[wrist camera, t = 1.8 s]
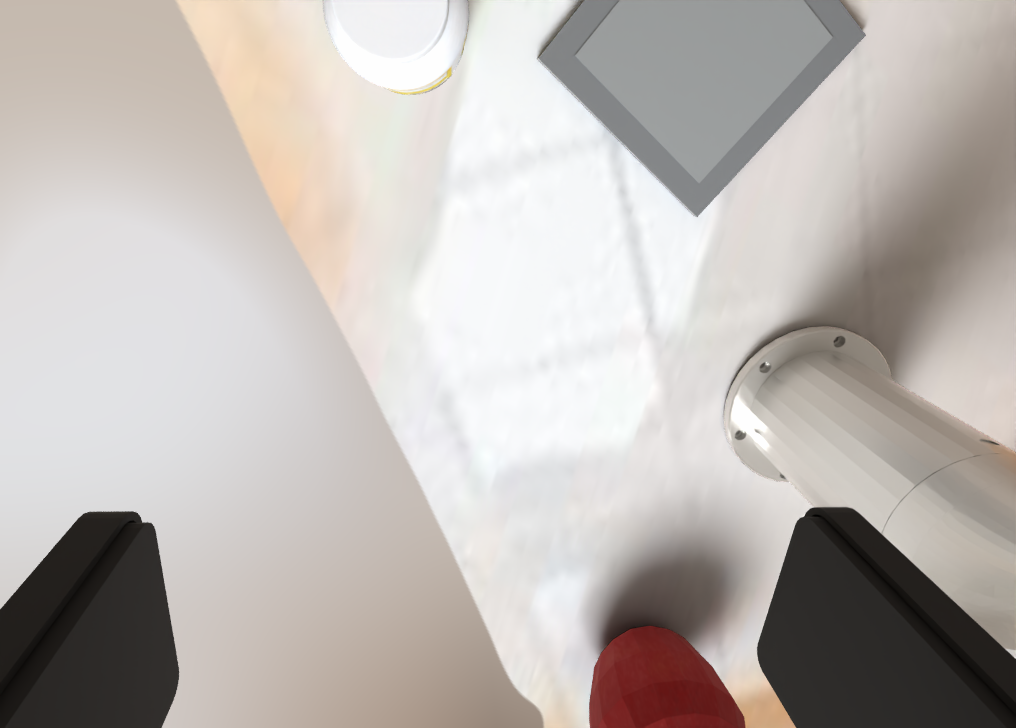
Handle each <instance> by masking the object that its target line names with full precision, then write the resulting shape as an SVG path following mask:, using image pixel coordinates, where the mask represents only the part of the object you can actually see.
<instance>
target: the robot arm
mask: <svg viewBox="0 0 1016 728" xmlns="http://www.w3.org/2000/svg"><path fill="white" fill-rule="evenodd" d="M724 429H725V433H726V436H727V440H728V443H729V445H730V446H731V448H732V450H733V452H734V453H735V454H736V456H737V457H738V458H739V459H740V460H741V461H742V463H743V464H744V465H746V466H747V467H748V468H749V469H750V470H751V471H753V472H754V473H756V474H758V475H760V476H762V477H764V478H767V479H771V480H774V481H779V482H790V483H791V484H792V485H793V486H794V487H795V488H796V489H797V490H798V492H799V493H800V494H801V495H802V496H803V497H804V498H805V499H806V500H807V501H808V502H809V503H810V504H811V505H812V506H813V507H814V508H811V509H809V510H808V511H807V512H806V514H805V516H804V517H802V518H800V519H799V520H798V521H797V523H796V525H795V528H794V531H793V534H792V537H791V541H790V544H789V547H788V550H787V553H786V556H785V560H784V563H783V566H782V569H781V572H780V575H779V579H778V582H777V585H776V588H775V591H774V594H773V598H772V601H771V604H770V607H769V610H768V613H767V617H766V620H765V623H764V626H763V629H762V633H761V636H760V639H759V642H758V647H757V655H758V661H759V664H760V667H761V669H762V671H763V673H764V675H765V676H766V678H767V680H768V681H769V683H770V685H771V686H772V688H773V690H774V691H775V693H776V695H777V696H778V698H779V700H780V701H781V703H782V705H783V706H784V708H785V710H786V711H787V713H788V715H789V716H790V718H791V720H792V721H793V723H794V725H795V726H796V728H1016V659H1015V658H1014V657H1013V656H1012V655H1011V654H1010V653H1009V652H1008V651H1007V650H1006V649H1011V650H1016V452H1015V451H1013V450H1011V449H1009V448H1008V447H1006V446H1004V445H1002V444H1001V443H999V442H997V441H996V440H994V439H992V438H990V437H989V436H987V435H985V434H984V433H982V432H980V431H978V430H977V429H975V428H973V427H971V426H970V425H968V424H966V423H965V422H963V421H961V420H959V419H958V418H956V417H954V416H953V415H951V414H949V413H947V412H946V411H944V410H942V409H940V408H939V407H937V406H935V405H934V404H932V403H930V402H928V401H927V400H925V399H923V398H922V397H920V396H918V395H916V394H915V393H913V392H911V391H909V390H908V389H906V388H904V387H903V386H901V385H899V384H897V383H896V382H894V381H892V377H891V371H890V369H889V366H888V364H887V362H886V359H885V358H884V356H883V355H882V354H881V352H880V351H879V350H878V348H877V347H875V346H874V345H873V344H872V343H870V342H869V341H868V340H867V339H865V338H863V337H861V336H859V335H857V334H855V333H853V332H850V331H848V330H845V329H842V328H837V327H828V326H820V327H808V328H804V329H800V330H796V331H793V332H790V333H788V334H786V335H784V336H781V337H779V338H777V339H775V340H774V341H772V342H771V343H769V344H768V345H766V346H765V347H763V348H762V349H761V350H760V351H758V352H757V353H756V354H755V355H754V356H753V357H752V358H751V359H750V360H749V361H748V362H747V363H746V365H745V366H744V367H743V368H742V369H741V371H740V372H739V373H738V375H737V377H736V379H735V381H734V382H733V384H732V386H731V388H730V391H729V394H728V397H727V399H726V404H725V410H724ZM178 680H179V667H178V661H177V655H176V649H175V643H174V637H173V632H172V626H171V620H170V614H169V608H168V602H167V596H166V590H165V584H164V578H163V573H162V566H161V560H160V555H159V549H158V543H157V538H156V531H155V528H154V526H153V524H152V523H142V520H141V517H140V516H139V515H138V513H136V512H88V513H85V514H83V515H82V516H81V517H80V518H78V520H77V521H76V522H75V523H74V524H73V525H72V527H71V528H70V529H69V530H68V531H67V532H66V534H65V535H64V536H63V537H62V538H61V540H60V541H59V542H58V543H57V544H56V545H55V546H54V548H53V549H52V550H51V551H50V552H49V553H48V555H47V556H46V557H45V558H44V559H43V561H42V562H41V563H40V564H39V565H38V566H37V567H36V569H35V570H34V571H33V572H32V573H31V574H30V575H29V577H28V578H27V579H26V580H25V581H24V582H23V584H22V585H21V586H20V587H19V588H18V590H17V591H16V592H15V593H14V594H13V595H12V596H11V598H10V599H9V600H8V601H7V602H6V604H5V605H4V606H3V607H2V608H1V609H0V728H162V725H163V723H164V721H165V718H166V716H167V714H168V711H169V709H170V707H171V704H172V702H173V700H174V697H175V694H176V690H177V686H178Z"/></svg>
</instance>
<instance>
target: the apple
mask: <svg viewBox="0 0 1016 728" xmlns="http://www.w3.org/2000/svg"><path fill="white" fill-rule="evenodd" d="M589 723H590V728H745V721H744V716H743V714H742V713H741V711H740V709H739V708H738V706H737V704H736V703H735V701H734V699H733V698H732V696H731V695H730V693H729V692H728V690H727V689H726V687H725V686H724V684H723V682H722V681H721V679H720V678H719V676H718V675H717V673H716V672H715V670H714V669H713V667H712V666H711V665H710V664H709V663H708V662H707V661H706V660H705V659H704V658H703V657H702V656H701V655H700V654H699V653H698V652H697V651H696V650H695V649H694V648H693V646H692V645H691V644H690V643H689V642H688V641H687V640H686V639H685V638H684V637H682V636H680V635H678V634H677V633H675V632H673V631H671V630H670V629H665V628H660V627H655V626H645V627H638V628H633V629H629V630H628V631H626V632H624V633H623V634H621V635H619V636H618V637H616V638H614V639H613V640H612V641H611V642H610V643H609V645H608V646H607V647H606V648H605V649H604V650H603V651H602V653H601V654H600V656H599V658H598V661H597V663H596V665H595V667H594V673H593V681H592V688H591V695H590V702H589Z"/></svg>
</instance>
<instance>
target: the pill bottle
mask: <svg viewBox="0 0 1016 728" xmlns="http://www.w3.org/2000/svg"><path fill="white" fill-rule="evenodd" d="M323 11H324V18H325V22H326V26H327V29H328V32H329V35H330V37H331V40H332V42H333V44H334V46H335V47H336V49H337V51H338V52H339V54H340V55H341V57H342V58H343V59H344V61H345V62H346V63H347V64H348V65H349V66H350V67H351V68H352V69H353V70H354V71H355V72H356V73H358V74H359V75H360V76H362V77H363V78H365V79H366V80H368V81H370V82H372V83H374V84H376V85H378V86H380V87H383V88H385V89H387V90H390V91H392V92H396V93H400V94H406V95H416V94H422V93H426V92H429V91H431V90H433V89H435V88H437V87H439V86H440V85H441V84H443V83H444V82H445V81H446V80H447V79H448V78H449V77H450V76H451V75H452V73H453V72H454V70H455V69H456V67H457V65H458V63H459V61H460V59H461V56H462V53H463V50H464V44H465V40H466V36H467V31H468V22H469V6H468V0H323Z"/></svg>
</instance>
